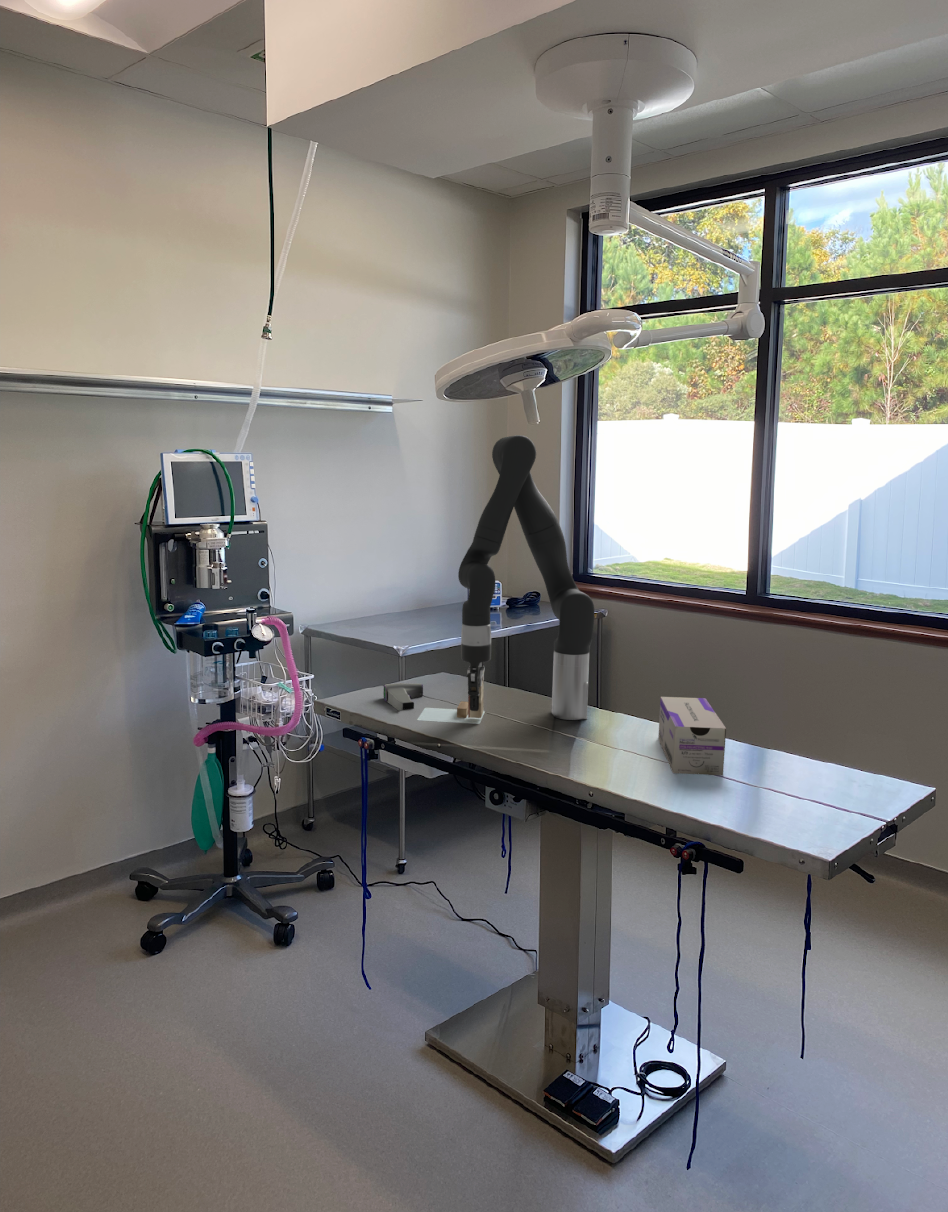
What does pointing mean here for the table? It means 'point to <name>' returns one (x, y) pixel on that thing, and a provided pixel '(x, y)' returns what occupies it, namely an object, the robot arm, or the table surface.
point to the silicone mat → (446, 716)
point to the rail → (462, 709)
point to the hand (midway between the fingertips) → (475, 706)
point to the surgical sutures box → (691, 736)
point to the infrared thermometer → (402, 694)
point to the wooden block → (479, 713)
